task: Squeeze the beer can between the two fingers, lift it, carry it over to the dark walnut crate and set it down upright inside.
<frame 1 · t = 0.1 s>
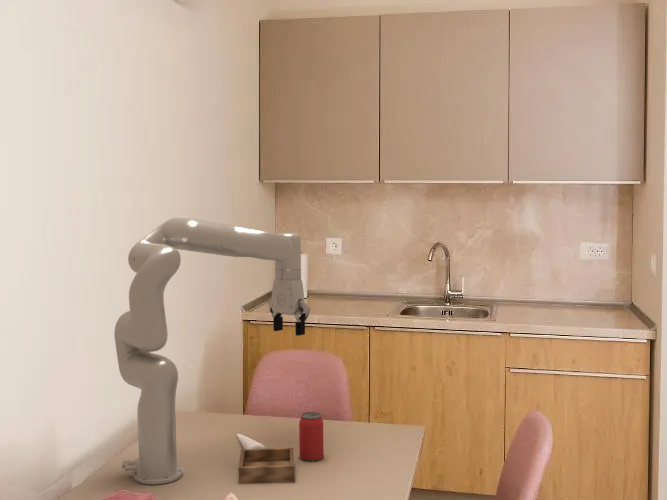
hand: (289, 332, 233), 31 cm above the table, tool pointing down, fingers open, 9 cm apart
unicorn horn: (246, 450, 225), on the table
beer can: (311, 458, 218), on the table
crate: (267, 472, 207), on the table
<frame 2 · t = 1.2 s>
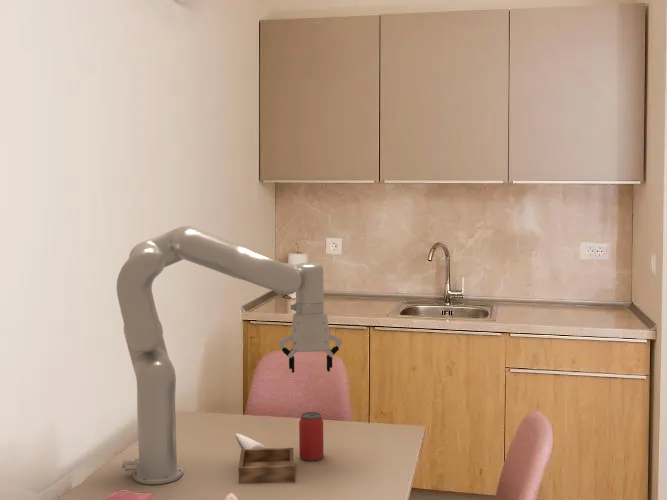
hand: (310, 370, 216), 24 cm above the table, tool pointing down, fingers open, 9 cm apart
nothing on the table moved.
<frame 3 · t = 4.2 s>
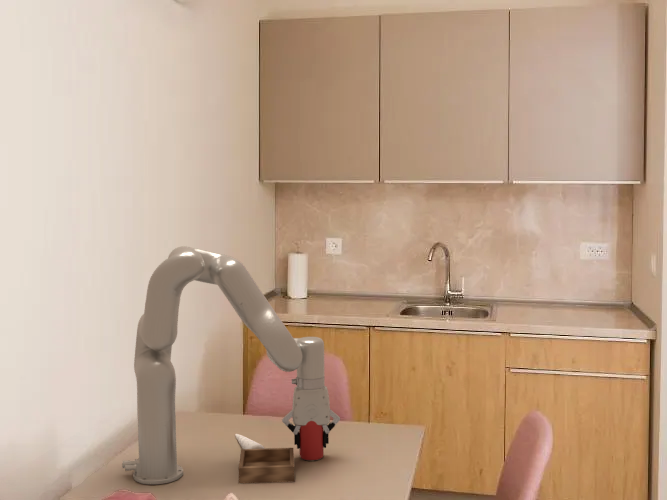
hand: (311, 446, 217), 3 cm above the table, tool pointing down, fingers closed on beer can, 6 cm apart
beer can: (311, 458, 218), on the table, touching gripper
everything else where it was.
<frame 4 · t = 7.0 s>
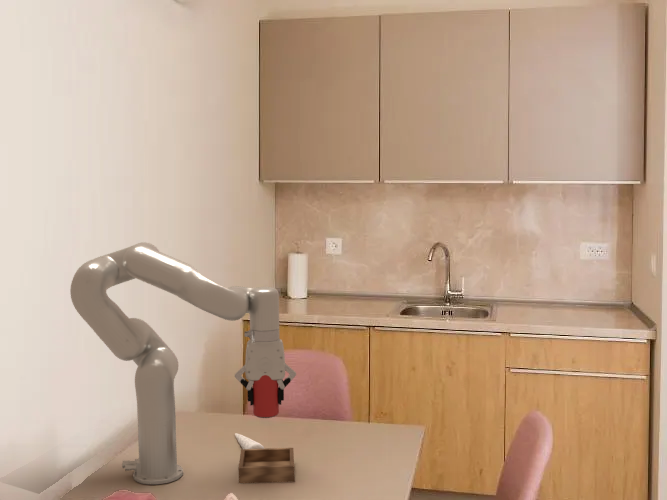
hand: (265, 403, 205), 18 cm above the table, tool pointing down, fingers closed on beer can, 6 cm apart
beer can: (266, 415, 205), point 15 cm above the table, touching gripper
everything else where it was.
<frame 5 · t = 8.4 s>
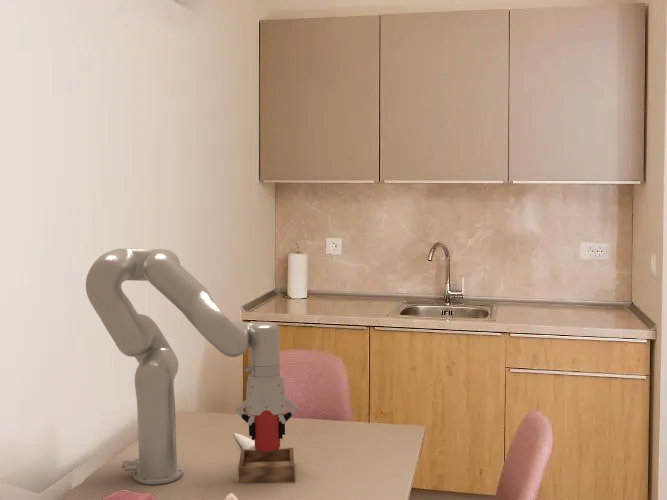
hand: (267, 437, 206), 9 cm above the table, tool pointing down, fingers closed on beer can, 6 cm apart
beer can: (267, 450, 206), point 6 cm above the table, touching gripper
everything else where it was.
when the fingers open (6 cm above the table, at t = 10.1 s): beer can drops 1 cm, resting on crate.
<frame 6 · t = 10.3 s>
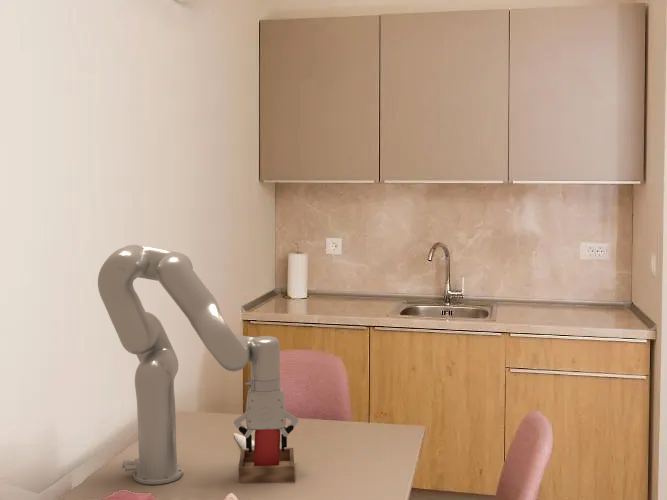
hand: (266, 450, 206), 6 cm above the table, tool pointing down, fingers open, 8 cm apart
beer can: (266, 469, 207), point 1 cm above the table, touching crate
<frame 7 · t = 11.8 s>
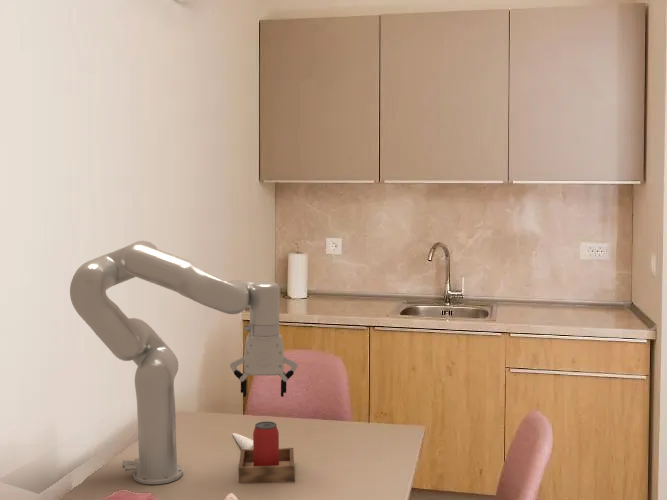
hand: (263, 395, 205), 21 cm above the table, tool pointing down, fingers open, 9 cm apart
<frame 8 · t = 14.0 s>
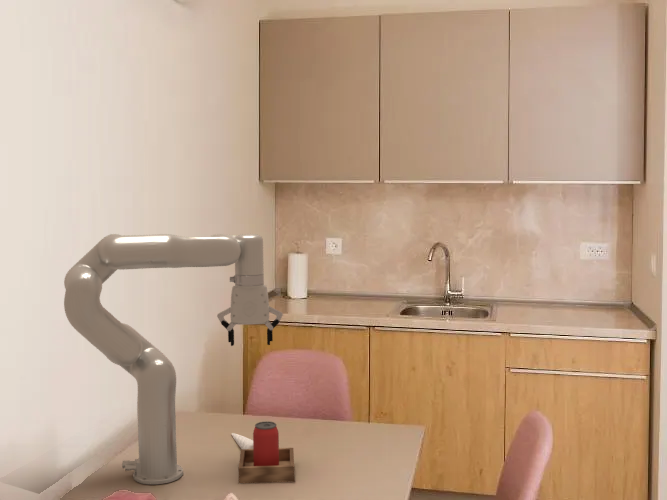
hand: (250, 344, 212), 32 cm above the table, tool pointing down, fingers open, 9 cm apart
at the end: beer can inside the target area on the crate (0.2 cm from its centre), point 0.6 cm above the crate's base; beer can tilted 0°; the gripper is holding nothing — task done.
